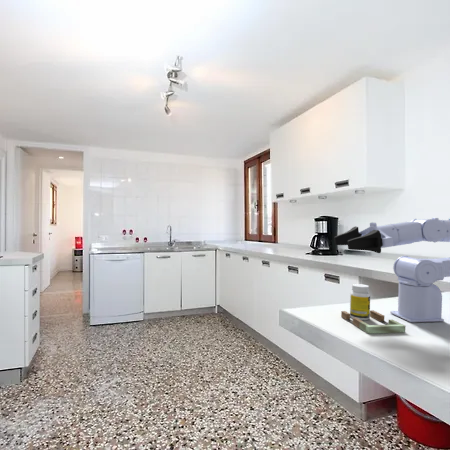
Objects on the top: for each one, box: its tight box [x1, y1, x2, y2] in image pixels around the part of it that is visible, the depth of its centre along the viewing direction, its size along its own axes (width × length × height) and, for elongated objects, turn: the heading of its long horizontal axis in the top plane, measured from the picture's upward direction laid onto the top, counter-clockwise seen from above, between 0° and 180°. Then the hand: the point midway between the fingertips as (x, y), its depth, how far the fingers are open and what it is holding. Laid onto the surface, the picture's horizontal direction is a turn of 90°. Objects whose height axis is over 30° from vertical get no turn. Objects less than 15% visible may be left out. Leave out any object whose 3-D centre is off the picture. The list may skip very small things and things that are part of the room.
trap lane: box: [340, 309, 406, 335], centre depth 77 cm, size 9×12×2 cm
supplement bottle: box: [349, 283, 371, 321], centre depth 81 cm, size 5×5×8 cm
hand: (341, 242), depth 81 cm, fingers open, 7 cm apart
